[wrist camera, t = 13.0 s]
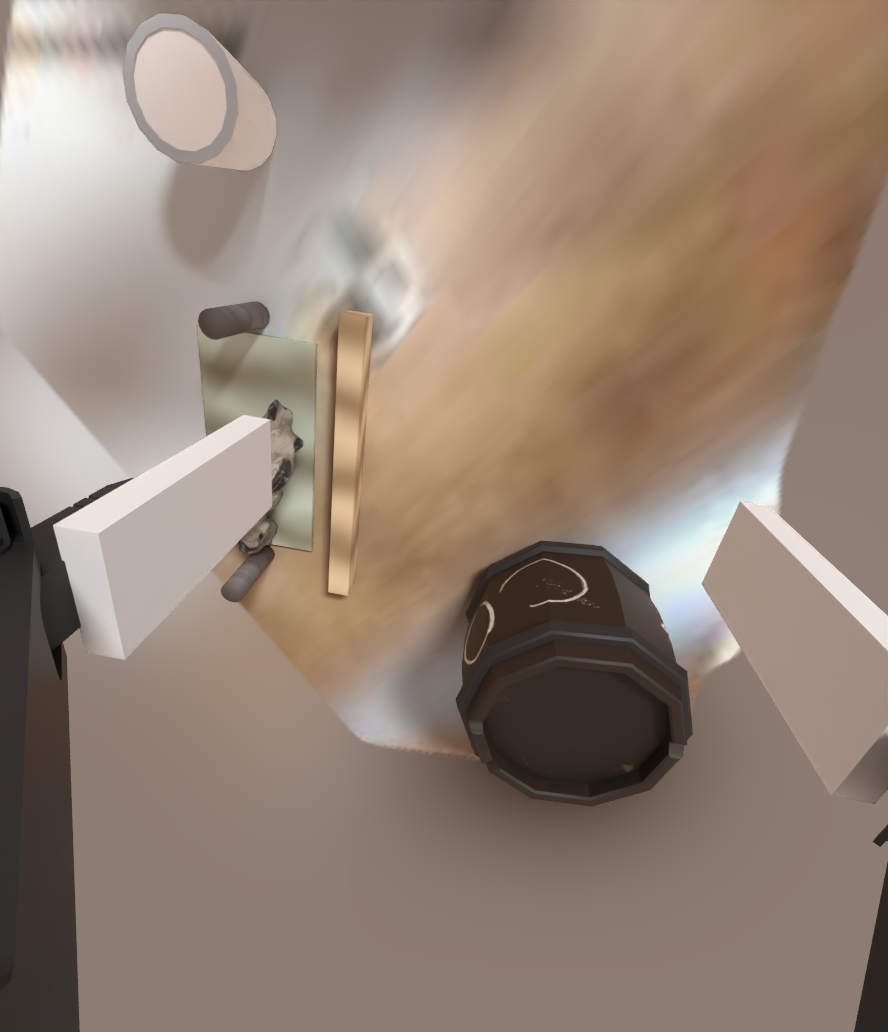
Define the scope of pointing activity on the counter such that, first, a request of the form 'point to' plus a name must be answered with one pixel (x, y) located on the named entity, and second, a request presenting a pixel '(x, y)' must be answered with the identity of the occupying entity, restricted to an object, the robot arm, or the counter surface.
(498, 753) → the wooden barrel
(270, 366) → the grey tray with pegs
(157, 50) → the shot glass
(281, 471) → the decorative stone
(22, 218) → the counter surface
